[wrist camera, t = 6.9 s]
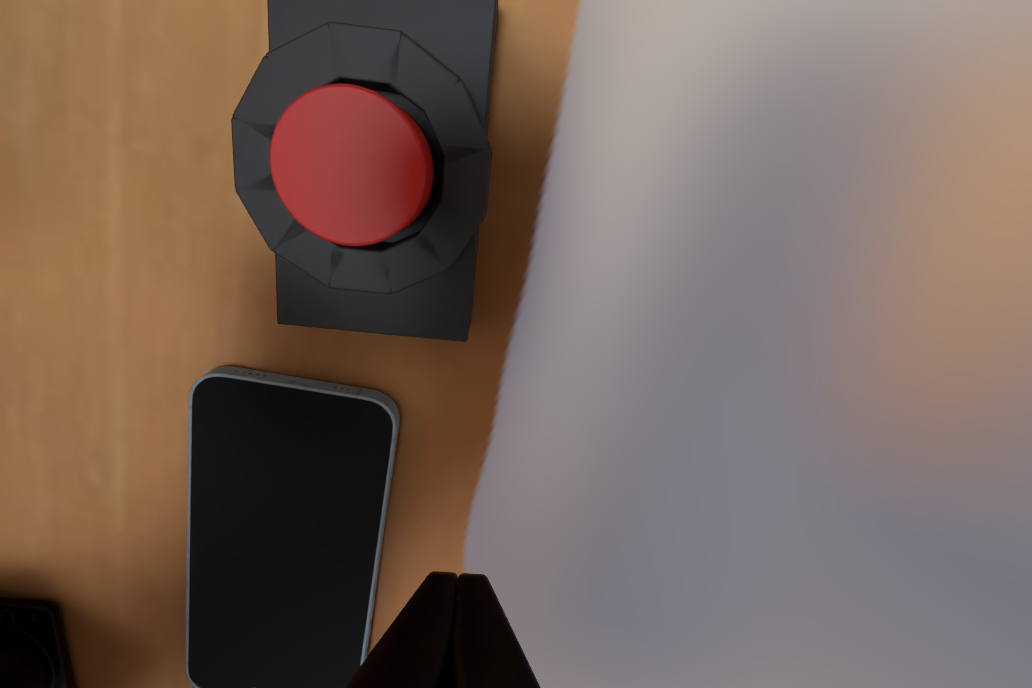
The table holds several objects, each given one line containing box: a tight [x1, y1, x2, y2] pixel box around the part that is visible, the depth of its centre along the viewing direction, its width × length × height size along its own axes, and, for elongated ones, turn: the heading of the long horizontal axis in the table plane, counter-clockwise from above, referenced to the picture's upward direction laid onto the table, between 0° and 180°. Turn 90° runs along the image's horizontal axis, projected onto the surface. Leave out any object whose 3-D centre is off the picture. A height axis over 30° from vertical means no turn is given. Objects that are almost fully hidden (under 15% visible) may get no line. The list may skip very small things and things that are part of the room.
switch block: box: [231, 0, 498, 342], centre depth 15 cm, size 10×6×4 cm, turn 174°
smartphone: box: [185, 366, 400, 688], centre depth 21 cm, size 7×1×15 cm
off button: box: [270, 83, 434, 246], centre depth 13 cm, size 4×4×2 cm
